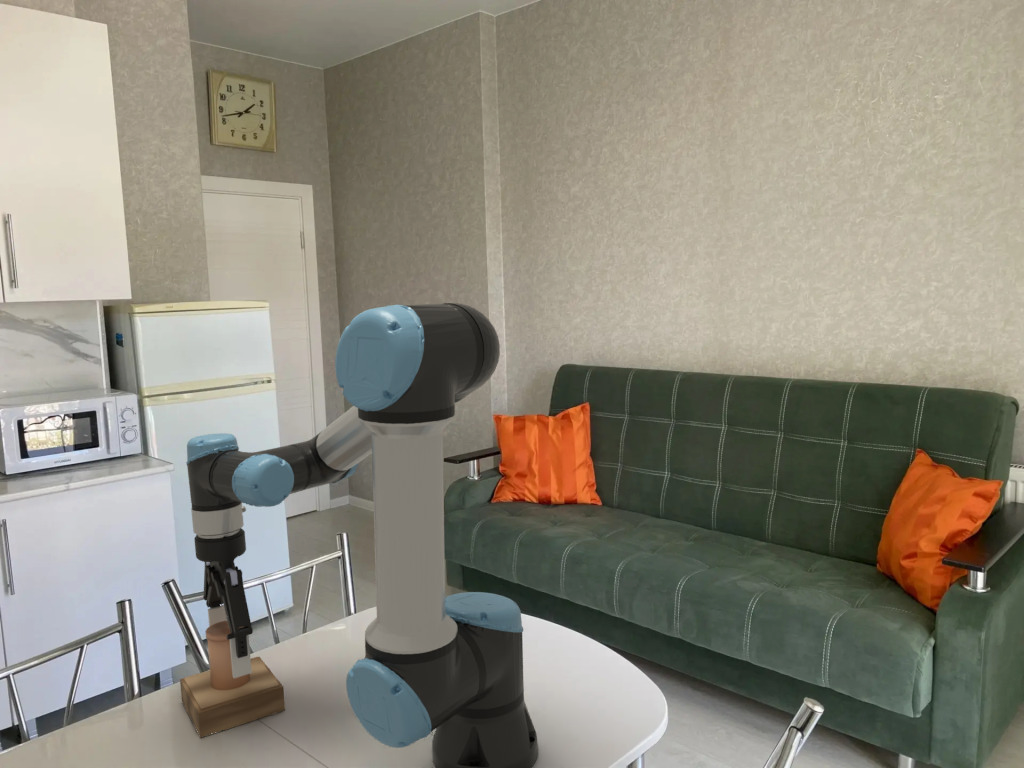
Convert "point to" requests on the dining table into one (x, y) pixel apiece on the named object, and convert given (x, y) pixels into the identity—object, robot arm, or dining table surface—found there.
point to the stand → (232, 699)
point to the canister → (222, 658)
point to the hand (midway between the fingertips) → (230, 659)
